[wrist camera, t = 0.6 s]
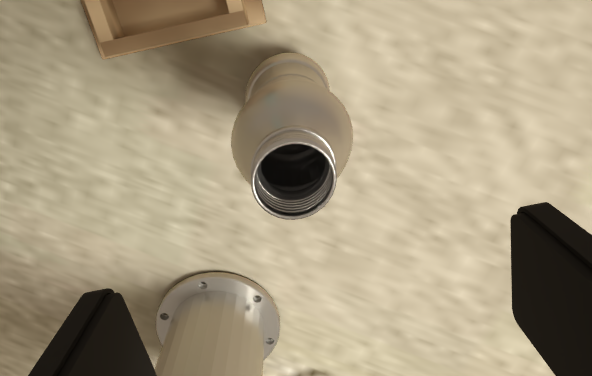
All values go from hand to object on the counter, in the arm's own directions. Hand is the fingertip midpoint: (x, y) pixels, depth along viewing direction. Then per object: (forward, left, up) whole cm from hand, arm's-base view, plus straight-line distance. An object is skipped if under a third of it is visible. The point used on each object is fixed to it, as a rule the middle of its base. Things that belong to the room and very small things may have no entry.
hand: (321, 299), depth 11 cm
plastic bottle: (0, +1, -29) cm, 29 cm away
